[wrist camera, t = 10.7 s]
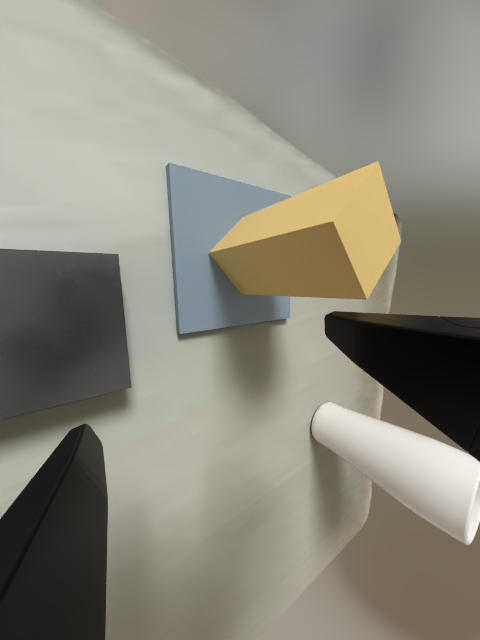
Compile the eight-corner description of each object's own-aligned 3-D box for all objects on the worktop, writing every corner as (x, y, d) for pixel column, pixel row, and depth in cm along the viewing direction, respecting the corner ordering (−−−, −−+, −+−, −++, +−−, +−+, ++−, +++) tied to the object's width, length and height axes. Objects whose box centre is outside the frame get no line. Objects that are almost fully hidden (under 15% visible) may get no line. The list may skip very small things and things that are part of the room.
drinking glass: (305, 404, 29) (473, 489, 17) (337, 388, 33) (493, 448, 21) (305, 453, 30) (462, 567, 18) (336, 433, 34) (483, 514, 22)
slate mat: (285, 317, 25) (289, 318, 25) (176, 332, 18) (179, 334, 18) (286, 197, 23) (290, 196, 23) (166, 166, 17) (168, 162, 16)
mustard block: (241, 294, 21) (366, 299, 12) (208, 252, 19) (332, 221, 10) (269, 259, 22) (400, 241, 13) (242, 217, 20) (378, 161, 11)
